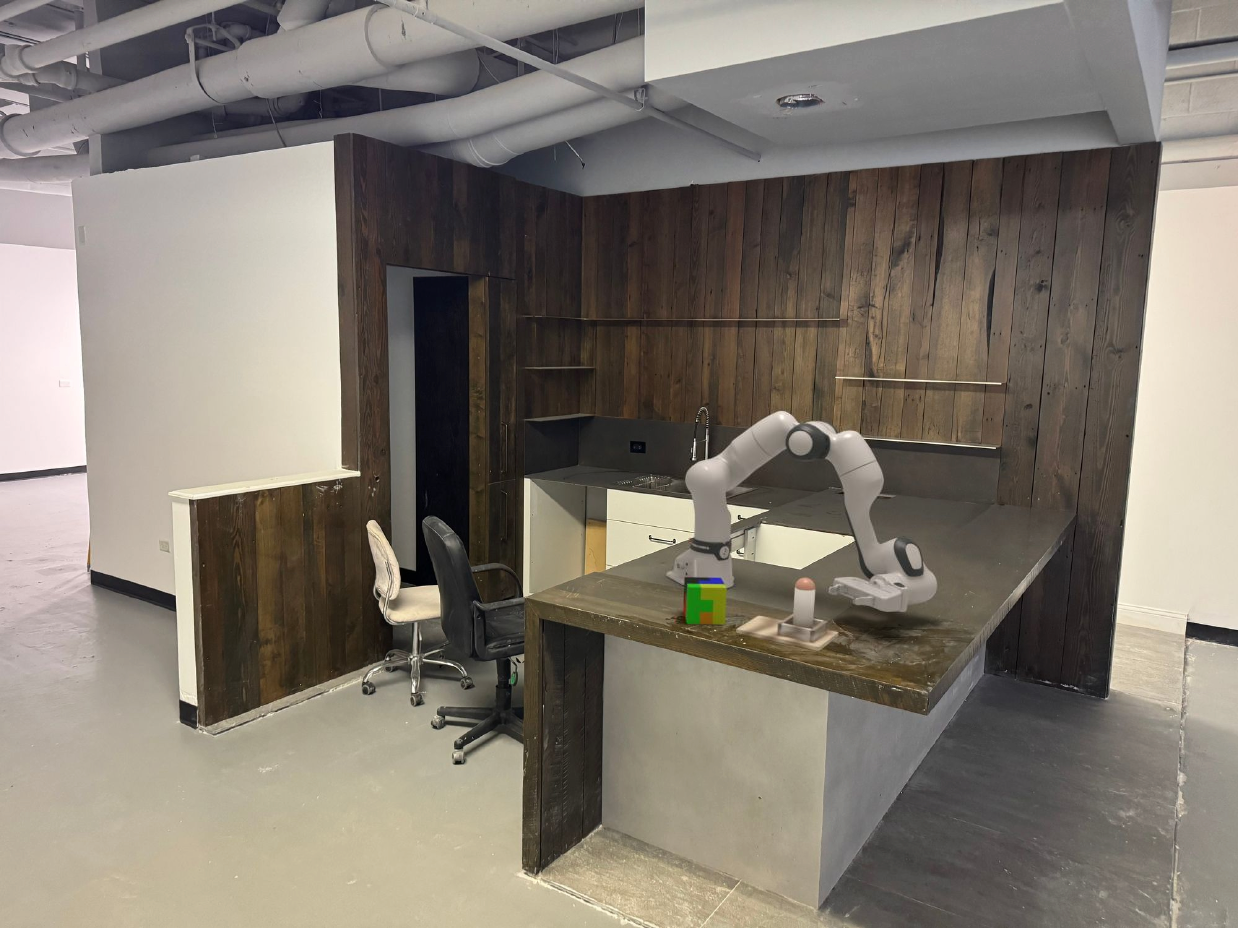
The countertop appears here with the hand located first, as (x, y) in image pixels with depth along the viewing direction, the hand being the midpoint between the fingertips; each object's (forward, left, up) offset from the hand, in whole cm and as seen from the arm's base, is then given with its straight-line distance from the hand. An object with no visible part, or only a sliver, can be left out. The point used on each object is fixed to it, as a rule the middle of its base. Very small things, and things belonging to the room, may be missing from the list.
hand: (842, 596), depth 220 cm
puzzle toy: (-27, -23, -10) cm, 37 cm away
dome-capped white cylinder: (-2, -12, -9) cm, 15 cm away
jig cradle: (-6, -13, -10) cm, 17 cm away
